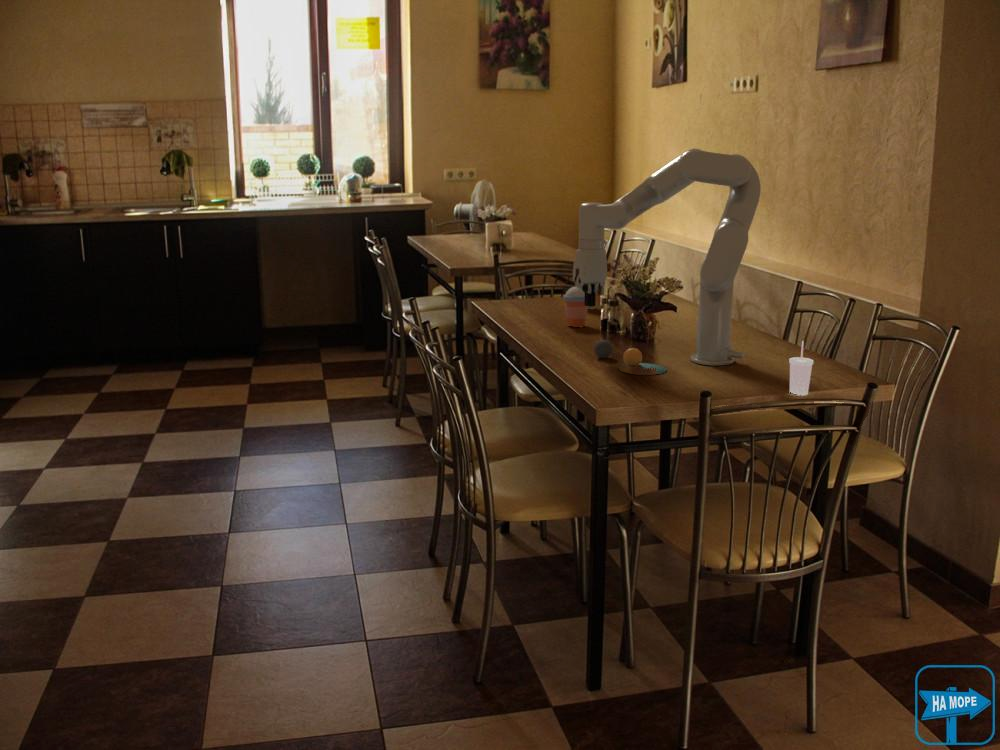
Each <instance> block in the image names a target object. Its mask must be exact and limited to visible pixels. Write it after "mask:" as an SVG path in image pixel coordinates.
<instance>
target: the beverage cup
mask: <svg viewBox="0 0 1000 750" xmlns="http://www.w3.org/2000/svg"><path fill="white" fill-rule="evenodd" d="M804 341H805V340H802V341H801V348H800V349H801V350H800V356H798V357H797V356H794V357H790V358H789V359H788V363H789V393H790V392H791V393H793V394H797V395H796V396H800V395H801V397H802V396H807V395H808V394H809V390H810V383H811V375H812V369H813V366H814V359H812V358H809V357H804V356H803V355H804V346H805V345H804V344H805V343H804ZM793 394H792V395H793Z"/></svg>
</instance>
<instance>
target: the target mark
mask: <svg viewBox="0 0 1000 750" xmlns="http://www.w3.org/2000/svg"><path fill="white" fill-rule="evenodd" d="M639 365H641V366H642V367H643V369H646V368H647V369H648V368H649V369H650V368H651V367H652V368H651V369H653V368H654V369H655V368H656V372H657V373H656V374H660V375H663V374H662V373H664V374H666V373H667V372H668V368H667V367H665V366H662V365H659V364H654V363H648V362H645V363H644V362H641V363H640V364H639ZM647 369H646V370H647ZM666 371H667V372H666ZM665 372H666V373H665ZM645 373H646V372H645ZM652 373H653V372H652Z"/></svg>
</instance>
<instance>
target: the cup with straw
mask: <svg viewBox="0 0 1000 750" xmlns="http://www.w3.org/2000/svg"><path fill="white" fill-rule="evenodd" d="M584 298H585V293H584V292H583V290H582V289H581V288H577V287H574V286H571V287H570V288H569V289H567V291H566V293H565V294H564V295H563V300H564V301H565V303H564V304H565V305H564V306H565V307H564V308H565V317H566V326H567V325H568V326H575V327H580V326H584V327H586V321H587V317H588V310H587V309H588V306H585V305H584V303H585V302H584ZM568 326H567V327H568ZM580 328H581V327H580Z"/></svg>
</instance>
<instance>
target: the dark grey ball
mask: <svg viewBox="0 0 1000 750" xmlns="http://www.w3.org/2000/svg"><path fill="white" fill-rule="evenodd" d="M612 352H613V345H612V344H611V342H610V341H608V340H605V339H601V340H598V341H597V342H596V343H595V344H594V347H593V353H595V356H596V357H598V358H600V359H606V358H610V356H611V355H612Z"/></svg>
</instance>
